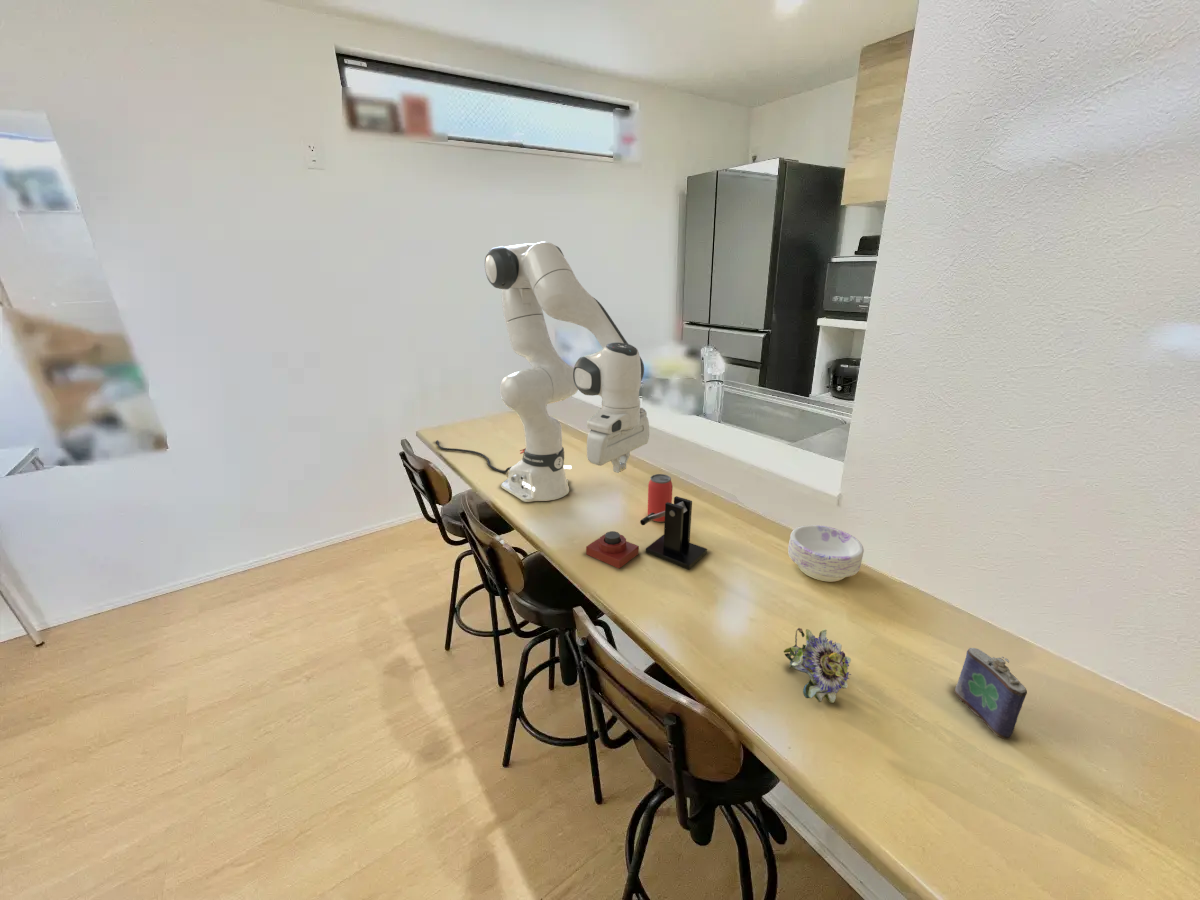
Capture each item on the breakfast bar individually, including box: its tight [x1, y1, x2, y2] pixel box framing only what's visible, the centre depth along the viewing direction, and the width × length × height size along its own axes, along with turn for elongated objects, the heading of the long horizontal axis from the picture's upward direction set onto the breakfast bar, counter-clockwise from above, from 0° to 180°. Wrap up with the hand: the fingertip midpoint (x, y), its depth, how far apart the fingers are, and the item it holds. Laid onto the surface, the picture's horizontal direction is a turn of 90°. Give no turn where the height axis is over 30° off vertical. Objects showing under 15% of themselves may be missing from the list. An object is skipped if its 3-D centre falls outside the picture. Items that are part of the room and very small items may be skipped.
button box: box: [585, 533, 640, 569], centre depth 119 cm, size 10×8×4 cm
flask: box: [954, 647, 1028, 740], centre depth 75 cm, size 9×3×11 cm, turn 8°
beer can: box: [647, 473, 674, 523], centre depth 135 cm, size 7×7×12 cm
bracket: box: [645, 496, 708, 570], centre depth 118 cm, size 12×9×14 cm
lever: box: [639, 502, 687, 526], centre depth 119 cm, size 12×5×2 cm
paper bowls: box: [787, 524, 865, 583], centre depth 112 cm, size 15×15×8 cm
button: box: [604, 530, 621, 545], centre depth 119 cm, size 4×4×2 cm
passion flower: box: [783, 627, 852, 704], centre depth 82 cm, size 11×11×12 cm
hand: (619, 470), depth 118 cm, fingers closed
